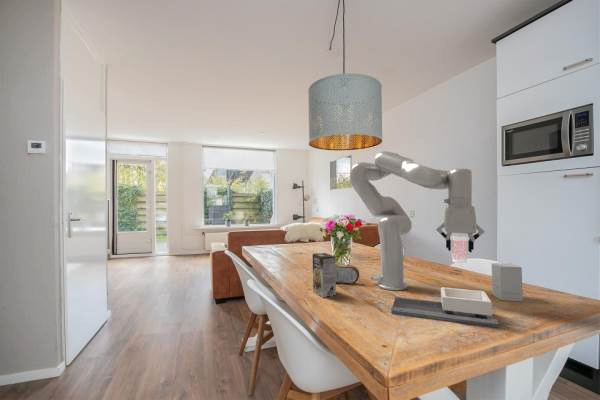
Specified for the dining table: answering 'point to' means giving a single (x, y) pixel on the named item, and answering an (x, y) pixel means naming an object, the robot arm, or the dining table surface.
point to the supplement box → (507, 281)
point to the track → (438, 312)
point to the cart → (466, 301)
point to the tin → (346, 274)
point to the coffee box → (324, 274)
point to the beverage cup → (459, 249)
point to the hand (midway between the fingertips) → (459, 250)
